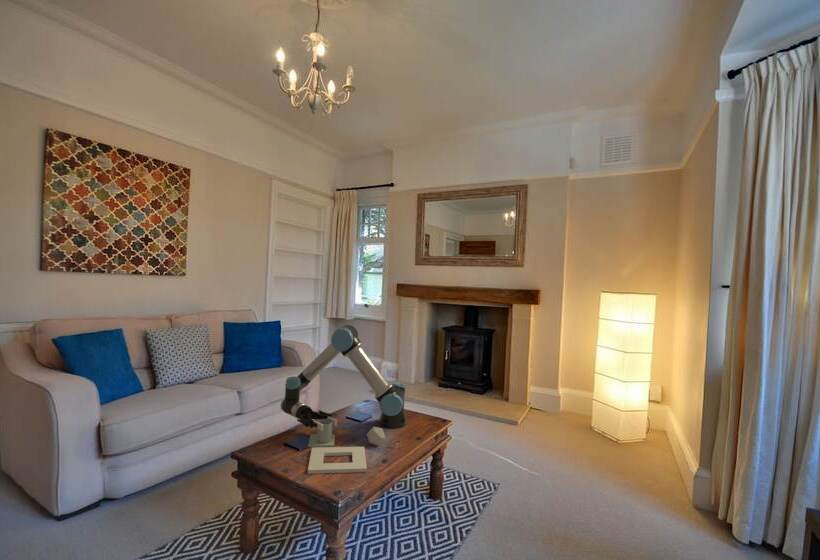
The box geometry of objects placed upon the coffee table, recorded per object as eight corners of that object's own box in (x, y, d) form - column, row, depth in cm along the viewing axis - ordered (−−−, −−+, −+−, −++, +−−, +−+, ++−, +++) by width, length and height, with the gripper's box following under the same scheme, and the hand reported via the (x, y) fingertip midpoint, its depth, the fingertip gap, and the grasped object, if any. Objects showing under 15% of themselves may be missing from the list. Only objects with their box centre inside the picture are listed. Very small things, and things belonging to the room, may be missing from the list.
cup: (318, 444, 173) (319, 425, 173) (312, 436, 182) (314, 418, 182) (333, 441, 177) (334, 423, 177) (326, 433, 185) (328, 416, 186)
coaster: (334, 435, 186) (334, 434, 186) (334, 446, 174) (334, 444, 174) (310, 436, 184) (310, 434, 184) (308, 446, 172) (308, 445, 172)
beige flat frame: (364, 449, 173) (364, 446, 173) (366, 471, 153) (366, 468, 153) (311, 450, 168) (312, 447, 168) (307, 473, 149) (307, 470, 149)
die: (387, 444, 181) (382, 424, 186) (385, 442, 174) (380, 422, 179) (371, 450, 181) (366, 430, 185) (369, 448, 173) (364, 427, 178)
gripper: (317, 414, 198) (345, 427, 184) (283, 424, 183) (310, 439, 168) (318, 400, 198) (346, 412, 184) (284, 409, 183) (311, 422, 168)
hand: (329, 425), depth 176 cm, fingers open, 8 cm apart
